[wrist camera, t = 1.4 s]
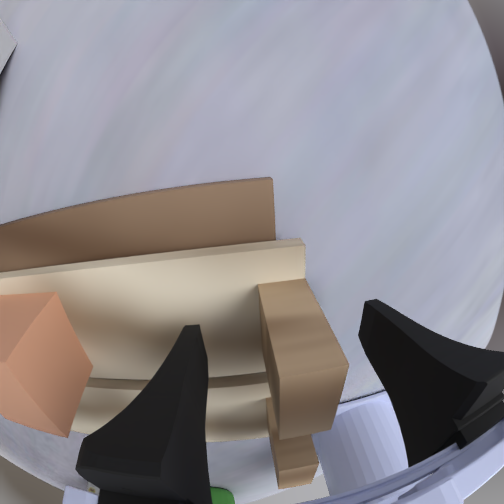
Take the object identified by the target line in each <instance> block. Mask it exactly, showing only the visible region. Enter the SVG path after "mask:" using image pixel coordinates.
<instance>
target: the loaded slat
mask: <svg viewBox="0 0 504 504" xmlns="http://www.w3.org/2000/svg"><path fill="white" fill-rule="evenodd" d="M45 292H57V294H58V297H59V299H60V301H61V304H62V306H63V308H64V310H65V313H66V315H67V317H68V319H69V321H70V323H71V325H72V328H73V330H74V332H75V334H76V336H77V338H78V340H79V341H80V343H81V345H82V347H83V349H84V351H85V353H86V355H87V356H88V358H89V360H90V362H91V363H92V365H93V369H92V371H91V374H90V376H89V377H92V378H107V379H137V380H151V379H152V378H153V376H154V375H155V373H156V372H157V371H158V369H159V368H160V366H161V365H162V363H163V362H164V360H165V359H166V357H167V355H168V354H169V352H170V351H171V349H172V347H173V345H174V344H175V342H176V340H177V338H178V337H179V335H180V333H181V331H182V329H183V327H184V326H185V325H196V324H200V329H201V333H202V337H203V341H204V345H205V349H206V353H207V357H208V375H209V377H222V376H233V375H242V374H251V373H259V372H266V373H267V379H268V384H269V389H270V394H271V399H272V404H273V409H274V414H275V419H276V425H277V430H278V435H279V440H282V439H288V438H294V437H299V436H305V435H309V434H314V433H319V432H323V431H327V430H331V428H332V425H333V422H334V418H335V415H336V412H337V409H338V405H339V402H340V398H341V395H342V391H343V387H344V383H345V380H346V376H347V372H348V367H349V363H348V361H347V359H346V357H345V355H344V353H343V351H342V349H341V347H340V345H339V343H338V341H337V339H336V337H335V335H334V333H333V331H332V329H331V327H330V325H329V323H328V321H327V319H326V317H325V315H324V313H323V311H322V309H321V308H320V306H319V304H318V302H317V300H316V298H315V296H314V294H313V292H312V290H311V289H310V287H309V285H308V283H307V281H306V279H305V244H304V243H303V241H302V240H301V238H295V239H285V240H275V241H266V242H256V243H247V244H237V245H228V246H219V247H210V248H201V249H192V250H183V251H174V252H165V253H156V254H148V255H139V256H130V257H122V258H113V259H105V260H97V261H88V262H80V263H72V264H64V265H56V266H48V267H40V268H32V269H24V270H17V271H9V272H1V273H0V295H10V294H28V293H45Z"/></svg>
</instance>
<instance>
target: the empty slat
mask: <svg viewBox="0 0 504 504" xmlns="http://www.w3.org/2000/svg"><path fill="white" fill-rule="evenodd" d="M149 381H150V380H115V379H97V378H89V379H88V381H87V384H86V387H85V389H84V392H83V395H82V397H81V400H80V403H79V406H78V408H77V411H76V414H75V417H74V420H73V423H72V426H71V429H70V431H75V432H80V433H85V434H92V433H93V432H95V431H96V430H98V429H99V428H101V427H102V426H104V425H105V424H106V423H108V422H109V421H110V420H112V419H113V418H114V417H115V416H116V415H118V414H119V413H120V412H121V411H122V410H123V409H125V408H126V407H127V406H128V405H129V404H130V403H131V402H132V401H133V400H134V399H135V398H136V396H137V395H138V394H139V393H140V392H141V391H142V390H143V389H144V388H145V386H146V385H147V384H148V383H149ZM205 434H206V442H222V441H236V440H247V439H256V438H264V437H269V438H270V444H271V450H272V455H273V461H274V467H275V472H276V478H277V483H278V489H284V488H290V487H296V486H301V485H306V484H311V482H312V480H313V478H314V475H315V473H316V470H317V467H318V465H319V461H318V458H317V454H316V451H315V447H314V444H313V440H312V437H311V434H309V435H305V436H299V437H294V438H288V439H282V440H279V435H278V430H277V425H276V419H275V414H274V409H273V404H272V399H271V394H270V389H269V384H268V379H267V373H266V372H265V373H257V374H249V375H240V376H230V377H218V378H209V381H208V394H207V408H206V422H205Z"/></svg>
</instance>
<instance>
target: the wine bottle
mask: <svg viewBox="0 0 504 504" xmlns="http://www.w3.org/2000/svg"><path fill="white" fill-rule="evenodd" d="M210 490H211V497H212V503H213V504H235V500H234V497H233V494H232V493H231V492H229V491H228V490H225V489H221V488H214V487H210Z"/></svg>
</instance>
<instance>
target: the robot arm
mask: <svg viewBox="0 0 504 504" xmlns="http://www.w3.org/2000/svg"><path fill="white" fill-rule="evenodd" d="M358 336H359V339H360V342H361V344H362V347H363V349H364V352H365V354H366V356H367V358H368V359H369V361H370V363H371V365H372V366H373V368H374V370H375V372H376V374H377V375H378V377H379V379H380V381H381V382H382V384H383V386H384V388H385V390H386V391H384V392H381V393H378V394H374V395H371V396H368V397H364V398H361V399H358V400H354V401H350V402H347V403H343V404H339V405H338V409H337V412H336V415H335V418H334V422H333V425H332V428H331V430H327V431H323V432H319V433H314V434H312V436H311V437H312V440H313V444H314V447H315V451H316V454H317V455H318V456H319V459H320V463H321V466H322V470H323V473H324V477H325V480H326V484H327V487H328V491H329V494H330V496H328V497H324V498H321V499H316V500H312V501H307V502H302V503H297V504H463V503H464V501H463V500H464V499H465V498H467V497H468V496H469V495H471V494H472V493H473V492H474V491H476V490H477V489H478V488H479V487H481V486H482V485H483V484H484V483H485V482H487V481H488V480H489V479H490V478H491V477H492V476H494V474H496V473H497V472H498V471H499V470H500V469H501V468H502V467H503V466H504V402H503V401H502V400H503V399H504V394H503V393H502V391H503V389H504V352H499V351H491V350H486V349H481V348H476V347H473V346H469V345H466V344H463V343H460V342H457V341H454V340H451V339H449V338H446V337H444V336H442V335H439V334H437V333H435V332H433V331H431V330H429V329H427V328H425V327H424V326H422V325H420V324H418V323H416V322H415V321H413V320H411V319H409V318H408V317H406V316H404V315H403V314H401V313H400V312H398V311H396V310H395V309H393V308H391V307H390V306H388V305H386V304H385V303H383V302H381V301H379V300H377V299H374V300H369V301H365V303H364V309H363V314H362V320H361V325H360V330H359V334H358ZM208 381H209V375H208V357H207V353H206V349H205V345H204V341H203V337H202V333H201V329H200V324H196V325H185V326H184V327H183V329H182V331H181V333H180V335H179V337H178V338H177V340H176V342H175V344H174V345H173V347H172V349H171V351H170V352H169V354H168V355H167V357H166V359H165V360H164V362H163V363H162V365H161V366H160V368H159V369H158V371H157V372H156V373H155V375H154V376H153V378H152V379H151V380H150V381H149V383H148V384H147V385H146V386H145V388H144V389H143V390H142V391H141V392H140V393H139V394H138V395H137V396H136V398H135V399H134V400H133V401H132V402H131V403H130V404H129V405H128V406H127V407H126V408H125V409H123V410H122V411H121V412H120V413H119V414H118V415H116V416H115V417H114V418H113V419H112V420H110V421H109V422H108V423H106V424H105V425H104V426H102V427H101V428H99V429H98V430H96V431H95V432H93V433H92V434H90V435H89V436H87V437H85V438H84V439H83V442H82V444H81V447H80V451H79V455H78V460H77V464H76V471H77V472H78V474H79V475H81V476H82V477H83V478H84V479H86V480H87V481H89V482H90V483H92V484H93V485H95V486H96V487H98V488H99V489H100V491H99V495H97V494H95V493H92V492H89V491H86V490H82V489H79V488H75V487H72V486H69V485H67V486H66V487H65V492H64V497H63V502H62V504H213V503H212V497H211V490H210V482H209V473H208V463H207V450H206V434H205V422H206V408H207V394H208ZM394 411H395V412H394ZM432 473H433V474H432ZM430 474H432V475H430ZM429 475H430V476H429Z"/></svg>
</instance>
